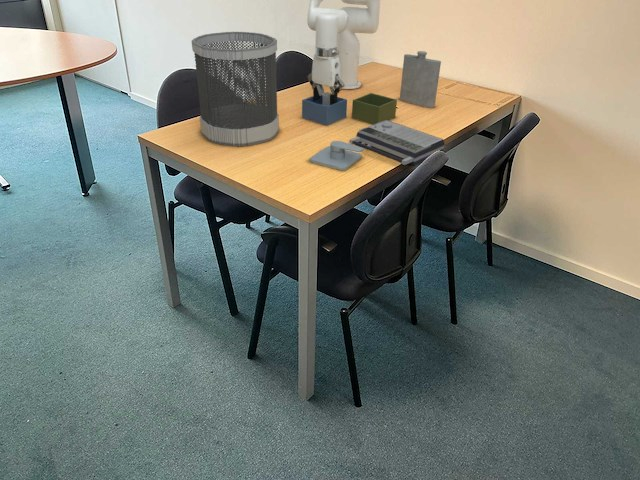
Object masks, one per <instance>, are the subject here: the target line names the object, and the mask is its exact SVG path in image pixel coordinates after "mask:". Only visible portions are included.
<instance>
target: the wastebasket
mask: <svg viewBox="0 0 640 480" xmlns="http://www.w3.org/2000/svg"><path fill="white" fill-rule="evenodd" d="M191 48H192V49H191V50H192V52H193V54H194V61H195V73H196V82H197V91H198V93H197V94H198V99H199V100H198V101H199V111H200V115H199V122H200V123H199V124H200V125H199V126H200V134H201V136H202V137H203V138H204V139H206V140H207V141H208V142H211V143H212V144H215V145H220V146H227V147H246V146H247V147H249V146H254V145H259V144H264V143H266V142H270V141H272V140H274V139H275V138H276V137H277V135H278V134H279V132H280V120H279V119H280V118H279V117H280V116H279V115H280V114H279V113H278V89H277V88H278V87H277V84H278V83H277V51H278V40H277V39H276V38H275V37H273V36H270V35H268V34H265V33H260V32H252V31H251V32H250V31H249V32H248V31H222V32H212V33H211V32H210V33H206V34H202V35H199V36H196V37H195V38H192V40H191Z"/></svg>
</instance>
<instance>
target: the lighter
mask: <svg viewBox="0 0 640 480" xmlns="http://www.w3.org/2000/svg"><path fill="white" fill-rule="evenodd" d="M316 87H317V90H318V93H319V96H322V105H324V106H330V95H331V94H332V93H331V92H325V90H324V85H320V84H317V85H316Z"/></svg>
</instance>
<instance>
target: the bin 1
mask: <svg viewBox="0 0 640 480" xmlns="http://www.w3.org/2000/svg"><path fill="white" fill-rule="evenodd" d="M347 110H348V99H347V98H343V97H340V96H337V103H335V104H332V105H330V106H324V105H322V96H320V99H318V100H315V101H314V100H313V95H311V96H309V97H306V98H304V99H301V118H302V119H303V120H307V121H310V122H313V123H315V124H316V123H317V124H320V125H323V126H326V127H327V126H330V125H332V124H334V123H337V122H339V121H341V120H345V119H346V118H347V112H348V111H347Z"/></svg>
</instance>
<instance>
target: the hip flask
mask: <svg viewBox="0 0 640 480" xmlns="http://www.w3.org/2000/svg"><path fill="white" fill-rule="evenodd" d="M427 54H428V52H427V51H425V50H419V51H417V53H416V55H415V54H410V53H409V54H408V53H406V54H404V55H403V64H402V71H401V73H402V74H401V84H400V91H399V92H400V93H399V100H400V101H402V102H404V103H409V104H412V105H415V106H419V107H424V108H429V109H434V108H435V106H436V99H437V92H438V85H439V78H440V71H441V65H442V61H441V60H438V59H431V58H427Z"/></svg>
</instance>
